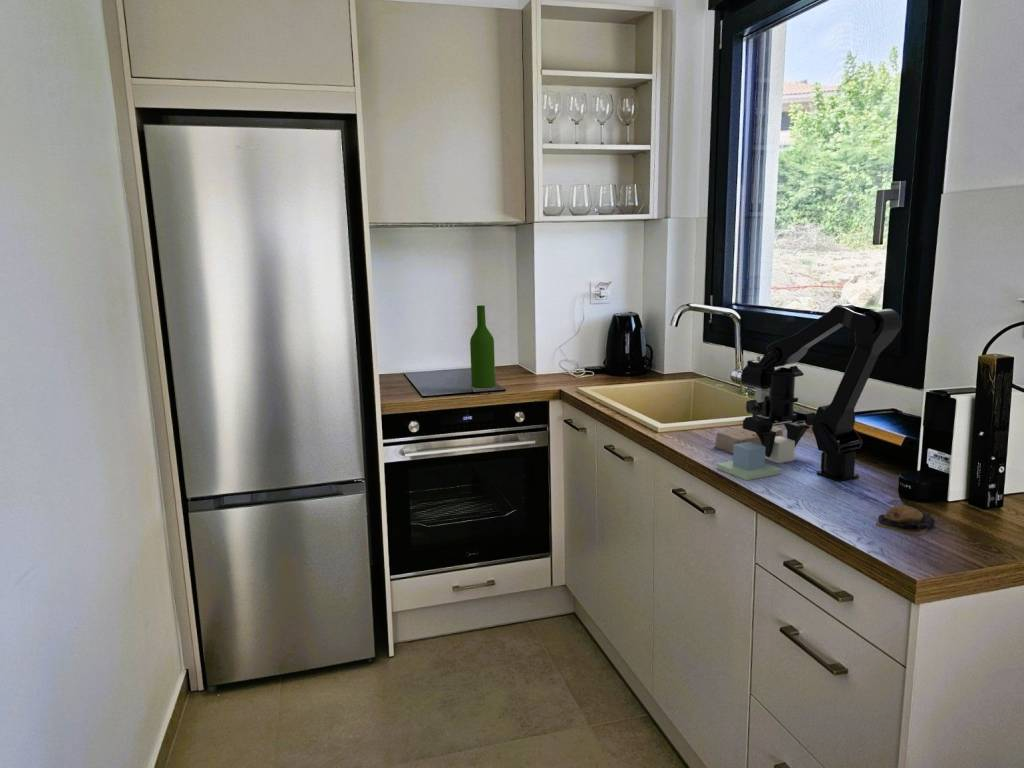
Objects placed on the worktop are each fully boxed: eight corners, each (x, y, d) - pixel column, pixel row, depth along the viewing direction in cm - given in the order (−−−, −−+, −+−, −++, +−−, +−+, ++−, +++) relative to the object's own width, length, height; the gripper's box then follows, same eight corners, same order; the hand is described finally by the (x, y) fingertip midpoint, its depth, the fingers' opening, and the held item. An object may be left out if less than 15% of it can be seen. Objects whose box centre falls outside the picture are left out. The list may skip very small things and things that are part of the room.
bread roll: (918, 540, 126) (920, 521, 125) (870, 527, 132) (871, 508, 132) (941, 524, 133) (943, 505, 132) (893, 512, 139) (895, 494, 138)
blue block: (764, 467, 163) (765, 446, 162) (747, 470, 161) (748, 449, 160) (749, 461, 168) (750, 441, 167) (732, 464, 166) (733, 444, 165)
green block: (780, 473, 162) (780, 468, 162) (746, 480, 158) (746, 475, 158) (750, 462, 171) (750, 457, 171) (717, 468, 167) (717, 463, 167)
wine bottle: (500, 392, 264) (497, 305, 258) (480, 395, 259) (476, 307, 253) (487, 389, 271) (484, 304, 265) (467, 392, 266) (464, 305, 260)
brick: (736, 455, 178) (737, 437, 177) (713, 447, 186) (714, 430, 185) (783, 446, 186) (784, 428, 185) (759, 439, 193) (760, 422, 192)
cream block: (794, 460, 172) (795, 440, 171) (778, 463, 170) (779, 443, 169) (778, 455, 177) (779, 436, 176) (763, 458, 175) (764, 438, 174)
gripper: (786, 383, 181) (783, 442, 184) (728, 391, 174) (726, 451, 177) (820, 390, 171) (817, 452, 174) (760, 399, 164) (758, 463, 167)
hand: (778, 454), depth 173 cm, fingers open, 7 cm apart
